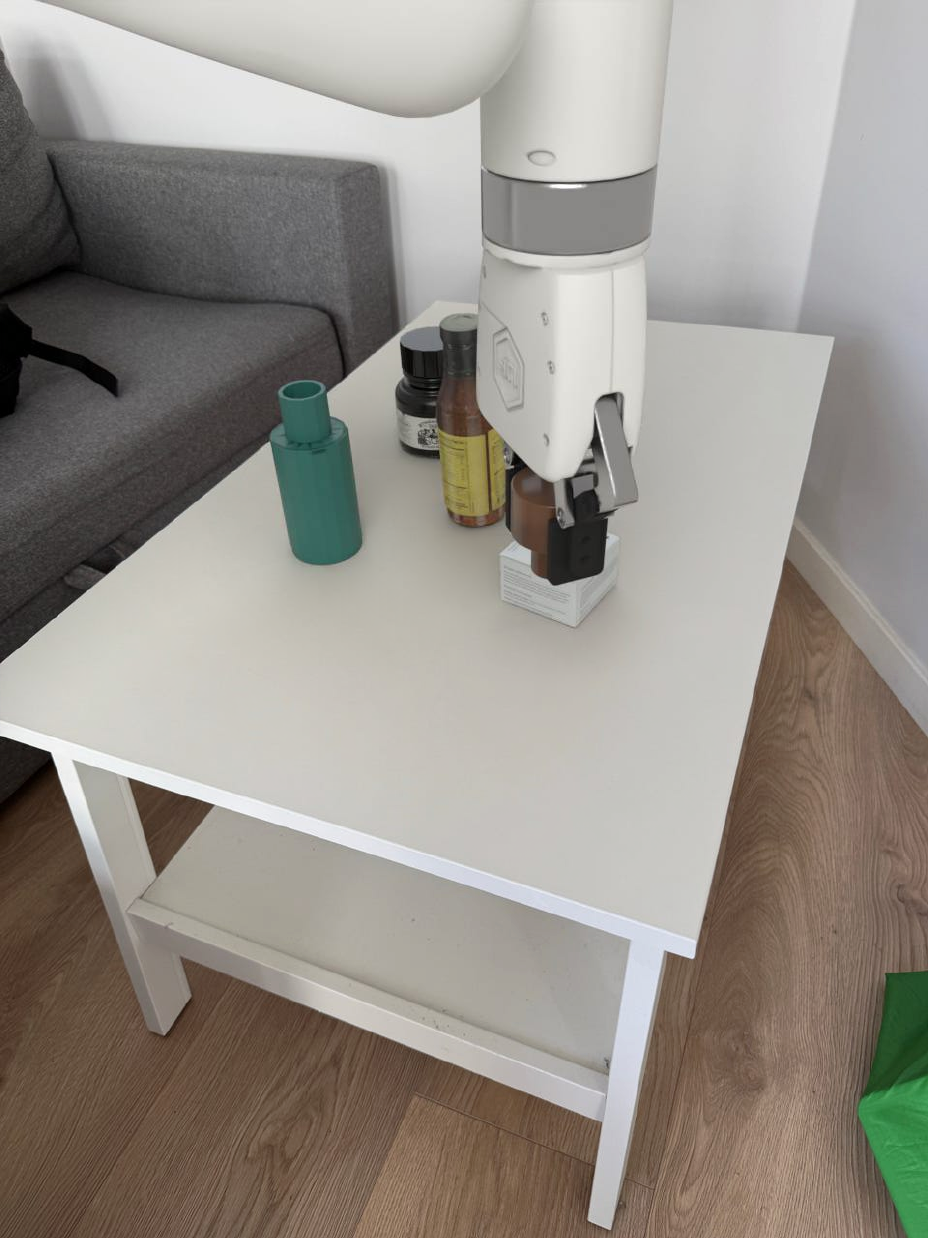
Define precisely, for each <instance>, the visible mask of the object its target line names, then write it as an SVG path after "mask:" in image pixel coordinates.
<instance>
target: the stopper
mask: <svg viewBox="0 0 928 1238" xmlns="http://www.w3.org/2000/svg"><path fill="white" fill-rule="evenodd" d="M593 488H594V485H593V474H590V475H586V476H581V477H577V478H573V492H574V498H575V497H577V496H578V495H579V494H580V493H582V492H583V491H587V490H591V489H593ZM555 517H556V509H555V497H554V485H553V482H549V481H547V480H545V479H543V478H541V477H540V476H539V475H537V474H536V473H535V472H534V471H533V470H532V469H531V468H530V467H529V466H528V467H526V468H524V469H522V470H520V471H519V472H518V473H517V474H516V475H515V476H514V477H513V479H512V481H511V532H510V534H511V536H512V538H513V539H514V540H516V542H517V543H519V544H520V545H521V546H523V547H525V548H527V549H529V550H531V570H532V572H533V573H534V574H535V575H537V576H538V577H540V578H543V579H547V577H546V573H547V546H548V519H552V518H555Z"/></svg>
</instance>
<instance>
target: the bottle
mask: <svg viewBox="0 0 928 1238" xmlns="http://www.w3.org/2000/svg"><path fill="white" fill-rule="evenodd" d="M327 393H328V392H327V388H326V386H325V385H324V383H323V382H320V381H317V380H314V379H313V380H312V379H311V380H309V379H301V380H296V381H290V382H288V383H286V384H284V385H283V386H282V385H281V387H280V388H279V390H278V391H277V397H278V402H279V403H278V404H279V408H280V413H281V419H282V421H281V422H280V423H279V424H278V425H277V426H275V427H274V428H272V429H271V432H270V434H269V436H268V437H269V438H268V439H269V444H270V447H271V454H272V459H273V463H274V469H275V474H276V479H277V484H278V485H277V486H278V490H279V494H280V499H281V504H282V510H283V515H284V520H285V525H286V531H287V536H288V541H289V545H290V548H291V552H292V555H293V556H294V557H295V558H296V559H297V560H299V561H300V562H303V563H305V564H309V565H315V566H328V565H333V564H338V563H341V562H344V561H346V560H348V559H350V558H352V557H353V556H355V554H357V553H358V552H359V550H360V549H361V547H362V544H363V531H362V523H361V518H360V509H359V503H358V502H359V501H358V494H357V486H356V478H355V472H354V464H353V457H352V449H351V441H350V435H349V428H348V426H347V424H346V423H345V421H343V420H342V419H339V418H337V417H336V416H332V415H331V414H330V407H329V400H328V394H327Z"/></svg>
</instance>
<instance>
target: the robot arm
mask: <svg viewBox="0 0 928 1238" xmlns="http://www.w3.org/2000/svg"><path fill="white" fill-rule="evenodd" d="M35 1H36V2H39V3H44V4H45V5H49V6H54V7H57V8H60V9H63V10H66V11H69V12H73V13H75V14H78V15H81V16H84V17H86V18H89V19H93V20H95V21H98V22H100V23H104V24H107V25H109V26H112V27H115V28H118V29H121V30H122V31H126V32H129V33H131V34H135V35H137V36H140V37H143V38H146V39H148V40H152V41H154V42H157V43H159V44H162V45H166V46H169V47H171V48H175V49H178V50H181V51H183V52H186V53H189V54H192V55H195V56H198V57H200V58H204V59H207V60H210V61H213V62H217V63H219V64H223V65H226V66H228V67H232V68H234V69H238V70H241V71H244V72H247V73H251V74H253V75H256V76H260V77H263V78H266V79H269V80H272V81H276V82H279V83H282V84H285V85H288V86H291V87H295V88H298V89H301V90H304V91H307V92H310V93H314V94H317V95H320V96H323V97H325V98H329V99H332V100H336V101H338V102H341V103H345V104H348V105H351V106H355V107H358V108H361V109H365V110H368V111H371V112H374V113H378V114H383V115H387V116H391V117H396V118H404V119H431V118H434V117H439V116H442V115H448V114H452V113H454V112H456V111H458V110H460V109H462V108H464V107H467V106H469V105H471V104H473V103H474V102H475V101H477V100H478V99H479V121H480V123H479V125H480V127H479V128H480V206H481V207H480V208H481V209H480V210H481V211H480V213H481V246H482V248H483V250H482V259H481V266H480V267H481V268H480V274H479V286H478V287H479V288H478V303H477V304H478V305H477V315H478V326H477V366H476V397H477V403H478V406H479V409H480V411H481V413H482V414H483V416H484V417H485V419H486V420H487V421H488V422H489V423H490V425H491V426H492V427H493V428H494V429H495V430H496V431H497V433H498V434H499V435H500V436H501V437H502V438H503V439H504V443H503V458H504V461H505V466H507V467H511V468H506V470H505V514H504V516H505V518H504V519H505V520H504V521H505V523H504V525H505V527H506V529H507V530H508V531H509V533H511V481H512V479H513V477H514V476H515V475H516V474H517V473H518V472H519V471H520V470H522V469H524V468H526V467H528V466H529V467H530V468H531V469H532V470H533V471H534V472H535V473H536V474H537V475H539V476H540V477H541V478H543V479H545V480H547V481H549V482H553V485H554V497H555V509H556V517H555V518H552V519H548V546H547V573H546V577H547V579H548V581H549V582H550V583H551V585H553V586H558V585H562V584H565V583H569V582H573V581H577V580H581V579H585V578H588V577H592V576H596V575H599V574H600V573H601V572H602V571H603V570H604V562H605V550H606V538H607V533H608V526H609V525H608V524H609V519H610V518H612V517H614V516H615V512H616V511H618V510H619V509H621V508H625V507H628V506H631V505H634V504H636V503H638V501H639V489H638V485H637V481H636V477H635V472H634V469H633V464H632V462H633V460H634V458H635V456H636V453H637V451H638V446H639V442H640V436H641V430H642V423H643V416H644V414H643V413H644V405H645V392H646V373H647V372H646V371H647V348H648V347H647V345H648V292H647V290H648V289H647V288H648V287H647V285H648V284H647V270H646V269H647V267H646V257H645V256H644V253H646V252H647V251H648V250H649V248H650V246H651V240H652V229H653V218H654V207H655V206H654V205H655V197H656V188H657V177H658V176H657V175H658V167H659V166H658V165H659V157H660V156H659V155H660V147H661V135H662V126H663V116H664V115H663V114H664V105H665V104H664V103H665V96H666V94H665V93H666V85H667V74H668V65H669V54H670V43H671V34H672V24H673V15H674V14H673V13H674V4H675V3H674V2H675V0H35ZM590 449H591V453H592V455H589V456H586V454H587V452H588V450H590ZM590 474H593V485H594V488H593V489H591V490H587V491H583V492H582V493H580V494H579V495H578V496H577V497H575V498H574V492H573V478H577V477H581V476H586V475H590Z"/></svg>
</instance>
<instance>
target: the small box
mask: <svg viewBox="0 0 928 1238" xmlns="http://www.w3.org/2000/svg"><path fill="white" fill-rule="evenodd" d="M621 539H622V538H621V537H620V536H618V535H616V534H613V533H611V532H607V538H606V550H605V562H604V570H603V571H602V572H601V573H600V574H599V575H596V576H592V577H588V578H585V579H581V580H577V581H573V582H569V583H565V584H562V585H558V586H553V585H551V583H550V582H549V581H548V579H543V578H540V577H538V576H537V575H535V574H534V573H533V572H532V570H531V550H529V549H527V548H525V547H523V546H521V545H520V544H519V543H517V542H516V540H515V539H514V540H513V541H512V542H510V543H509V545H508V546H506V547H505V548H504V549H503V550H502V551H501V552H500V553H498V557H499V596H500V597H499V598H500V600H501V601H503V602H506V603H508V604H511V605H513V606H516V607H518V608H521V609H524V610H526V611H529V612H532V613H534V614H537V615H539V616H543V617H545V618H548V619H550V620H553V621H556V622H558V623H561V624H563V625H566V626H567V627H568V626H569V627H572V628H577V627H578V626H579V624H580V623H582V622H583V620H584V619H585V618H586V617H587V616H588V615H589V614H590V613H591V611H592V610H593V609H595V607H596V606H597V605H598V604H599V603H600V602H601V601H602V600H603V598H604V597H605V596H606V595H607V594H608V593H609V592H610V591H611V589H612V588H613V587H614V586H615V585H616V584H617V583H618V577H619V566H620V565H619V563H620V554H621V553H620V552H621Z"/></svg>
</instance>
